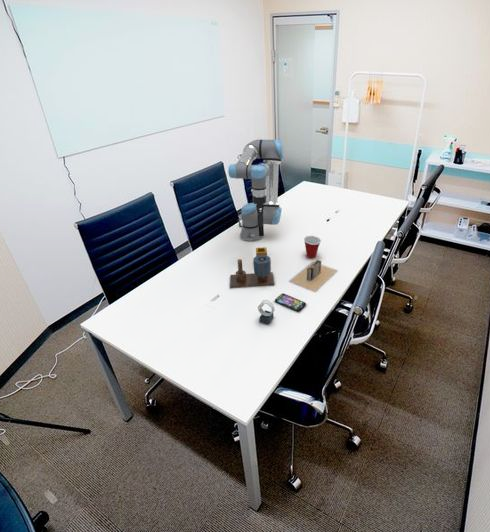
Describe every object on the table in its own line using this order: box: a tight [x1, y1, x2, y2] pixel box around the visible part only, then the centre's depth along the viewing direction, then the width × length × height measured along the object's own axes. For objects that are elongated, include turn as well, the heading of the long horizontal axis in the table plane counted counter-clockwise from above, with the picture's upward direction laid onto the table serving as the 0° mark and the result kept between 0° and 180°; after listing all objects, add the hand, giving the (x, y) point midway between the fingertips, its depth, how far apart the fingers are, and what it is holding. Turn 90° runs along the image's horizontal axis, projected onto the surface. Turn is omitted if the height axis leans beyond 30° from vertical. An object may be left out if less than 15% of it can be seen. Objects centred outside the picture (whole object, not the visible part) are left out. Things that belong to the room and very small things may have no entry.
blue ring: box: [252, 254, 272, 276], centre depth 182 cm, size 9×9×8 cm
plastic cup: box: [303, 235, 322, 259], centre depth 208 cm, size 11×11×12 cm
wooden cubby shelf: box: [255, 246, 268, 256], centre depth 201 cm, size 6×6×9 cm
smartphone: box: [274, 292, 307, 312], centre depth 170 cm, size 8×1×15 cm
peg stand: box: [229, 258, 275, 289], centre depth 183 cm, size 24×11×14 cm, turn 97°
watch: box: [257, 299, 276, 325], centre depth 157 cm, size 6×8×11 cm
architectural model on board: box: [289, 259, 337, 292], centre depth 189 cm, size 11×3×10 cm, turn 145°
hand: (260, 230), depth 193 cm, fingers open, 13 cm apart
